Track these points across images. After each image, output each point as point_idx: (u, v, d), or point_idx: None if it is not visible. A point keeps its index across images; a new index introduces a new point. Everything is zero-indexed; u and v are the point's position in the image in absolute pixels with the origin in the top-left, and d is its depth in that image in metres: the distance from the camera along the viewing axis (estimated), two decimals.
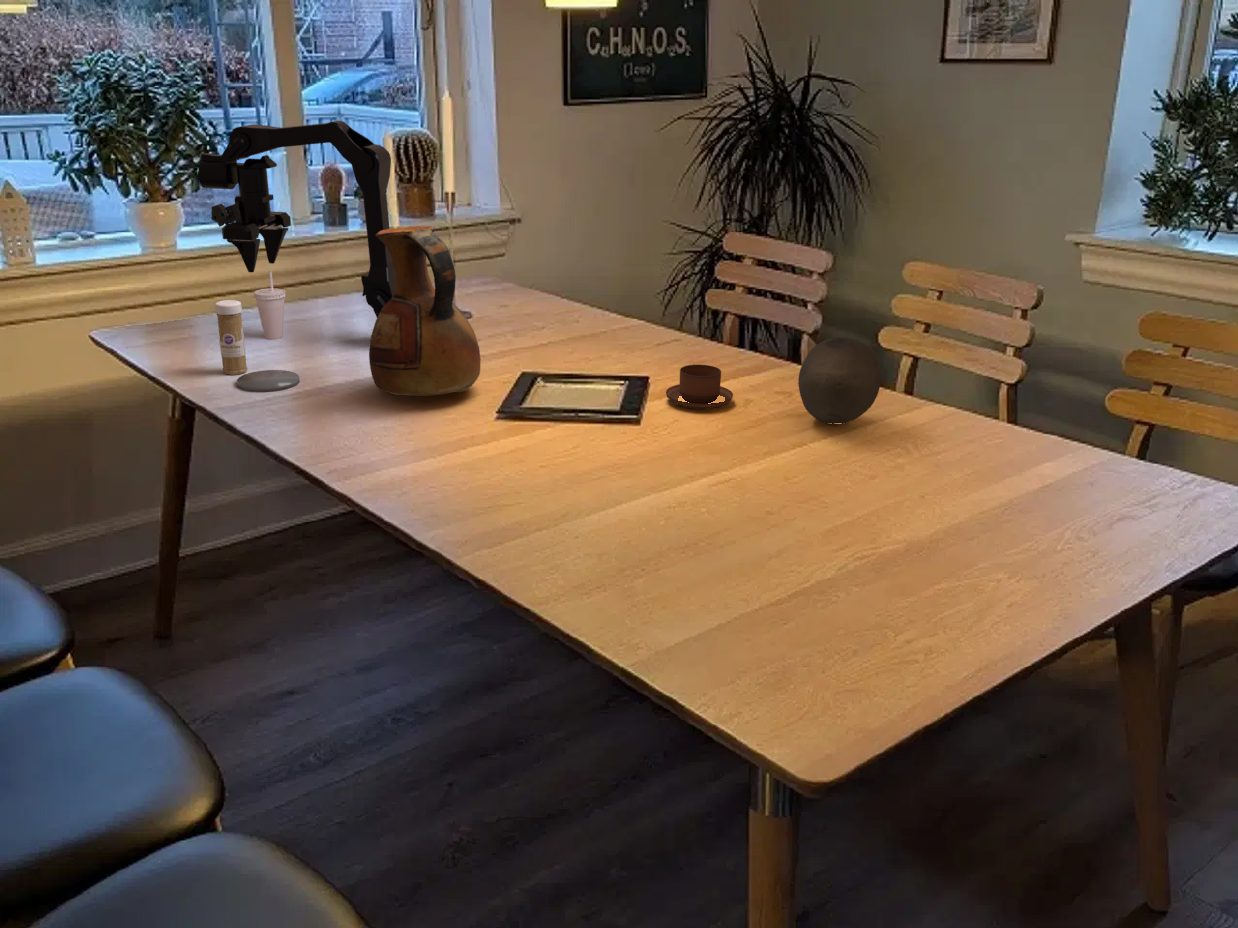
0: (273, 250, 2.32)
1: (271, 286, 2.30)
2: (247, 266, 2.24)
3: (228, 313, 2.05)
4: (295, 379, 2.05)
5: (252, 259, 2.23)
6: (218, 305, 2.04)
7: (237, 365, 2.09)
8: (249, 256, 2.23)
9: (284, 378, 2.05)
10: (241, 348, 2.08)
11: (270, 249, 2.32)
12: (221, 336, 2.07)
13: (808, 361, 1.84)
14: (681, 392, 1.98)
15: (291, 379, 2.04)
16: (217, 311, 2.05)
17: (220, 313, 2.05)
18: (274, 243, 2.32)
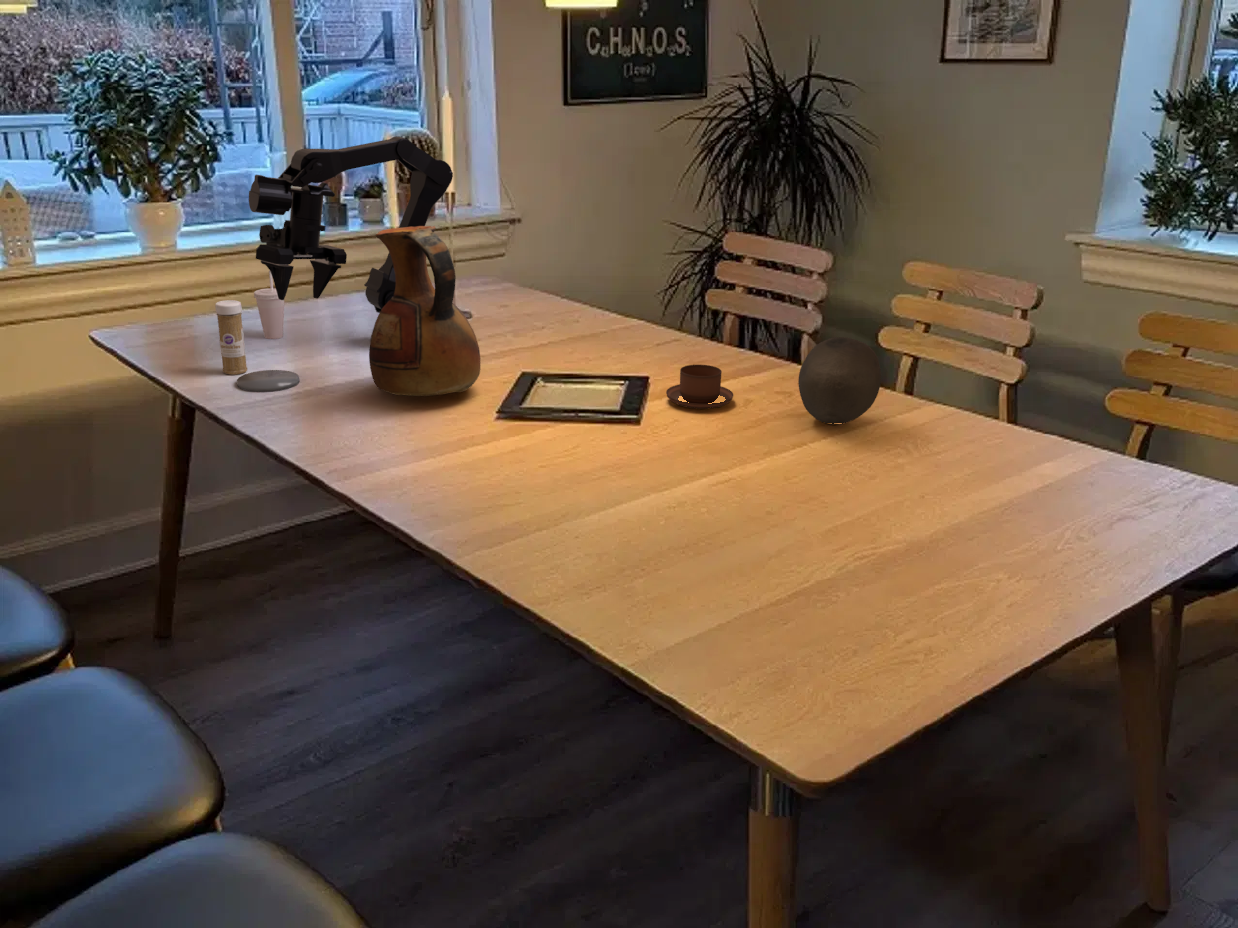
0: (319, 285, 2.19)
1: (271, 286, 2.30)
2: (278, 293, 2.11)
3: (228, 313, 2.05)
4: (295, 379, 2.05)
5: (282, 286, 2.10)
6: (218, 305, 2.04)
7: (237, 365, 2.09)
8: (280, 282, 2.10)
9: (284, 378, 2.05)
10: (241, 348, 2.08)
11: (317, 283, 2.19)
12: (221, 336, 2.07)
13: (808, 361, 1.84)
14: (681, 392, 1.98)
15: (291, 379, 2.04)
16: (217, 311, 2.05)
17: (220, 313, 2.05)
18: (322, 278, 2.18)
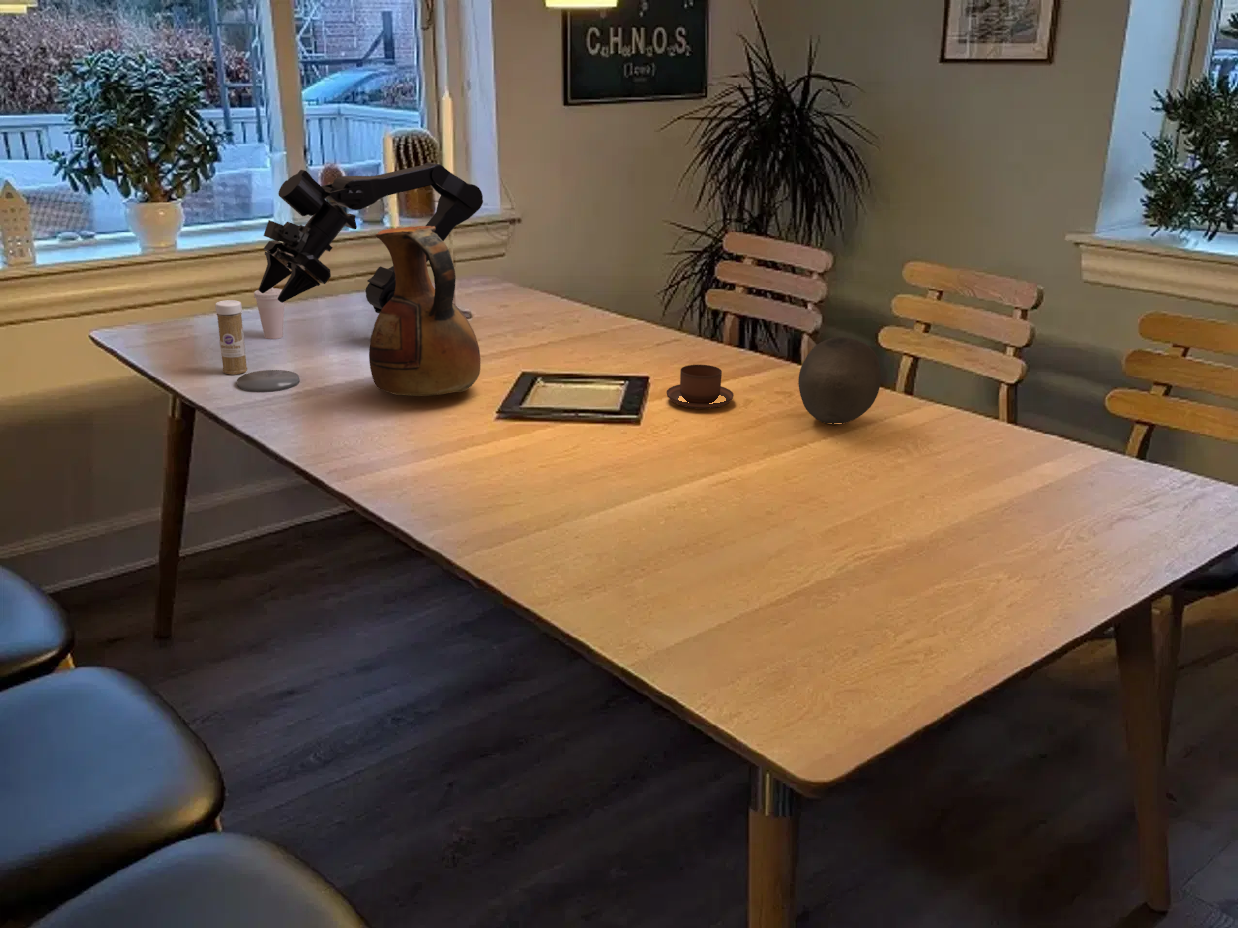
0: (272, 282, 2.15)
1: None
2: (282, 295, 2.07)
3: (228, 313, 2.05)
4: (295, 379, 2.05)
5: (295, 293, 2.08)
6: (218, 305, 2.04)
7: (237, 365, 2.09)
8: (295, 289, 2.08)
9: (284, 378, 2.05)
10: (241, 348, 2.08)
11: (270, 280, 2.15)
12: (221, 336, 2.07)
13: (808, 361, 1.84)
14: (682, 392, 1.98)
15: (291, 379, 2.04)
16: (217, 311, 2.05)
17: (220, 313, 2.05)
18: (277, 278, 2.16)
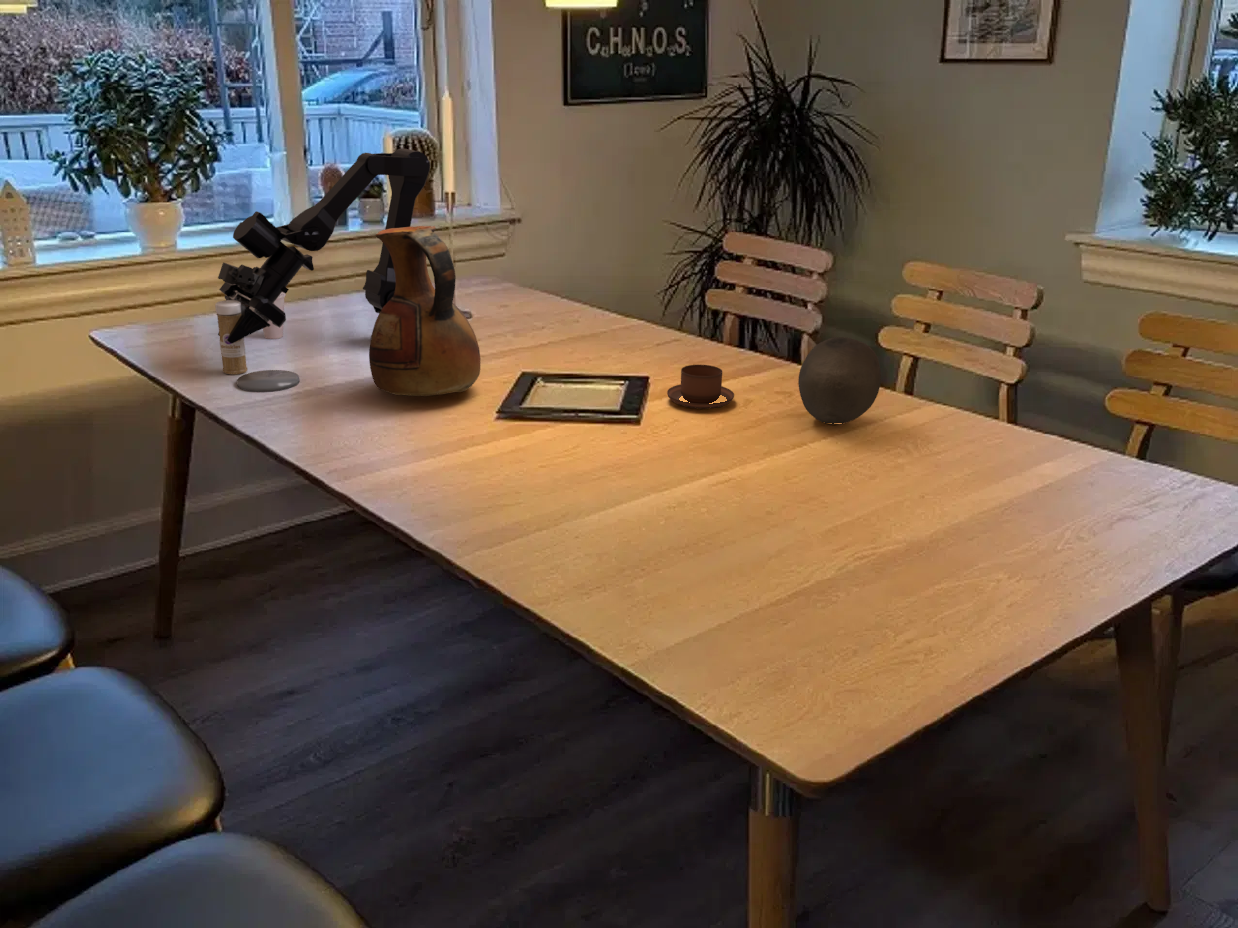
0: None
1: None
2: (232, 336, 2.06)
3: (228, 313, 2.05)
4: (295, 379, 2.05)
5: (245, 334, 2.07)
6: (218, 305, 2.04)
7: (237, 365, 2.09)
8: (245, 330, 2.06)
9: (284, 378, 2.05)
10: (241, 348, 2.08)
11: None
12: (221, 336, 2.07)
13: (808, 361, 1.84)
14: (682, 392, 1.98)
15: (291, 379, 2.04)
16: (217, 311, 2.05)
17: (220, 313, 2.05)
18: None
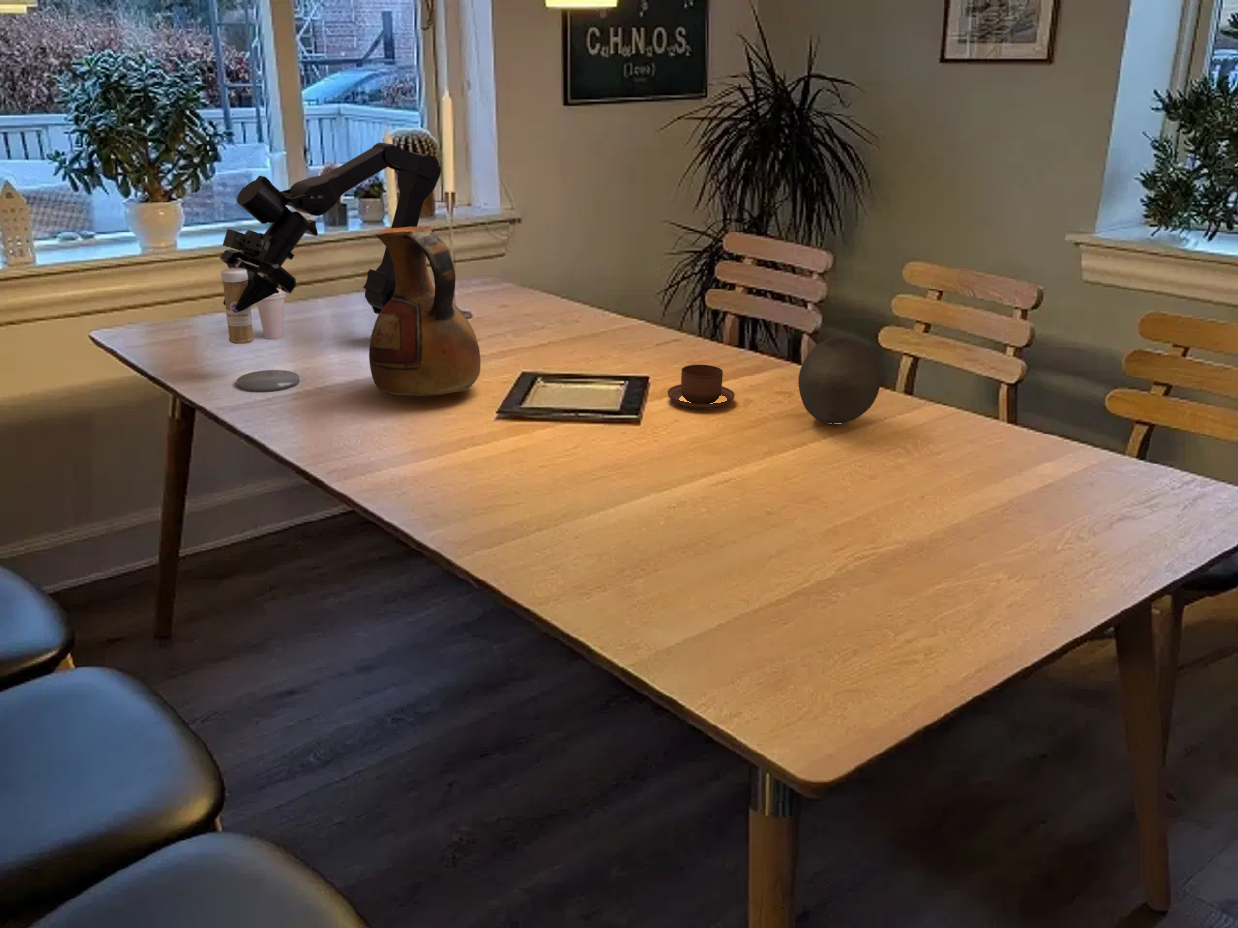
0: None
1: None
2: (240, 304, 2.01)
3: (235, 281, 2.00)
4: (295, 379, 2.05)
5: (253, 302, 2.02)
6: (225, 272, 2.00)
7: (245, 334, 2.04)
8: (253, 297, 2.02)
9: (284, 378, 2.05)
10: (248, 316, 2.04)
11: None
12: (228, 305, 2.02)
13: (808, 361, 1.84)
14: (683, 392, 1.98)
15: (291, 379, 2.04)
16: (224, 279, 2.00)
17: (227, 281, 2.00)
18: None
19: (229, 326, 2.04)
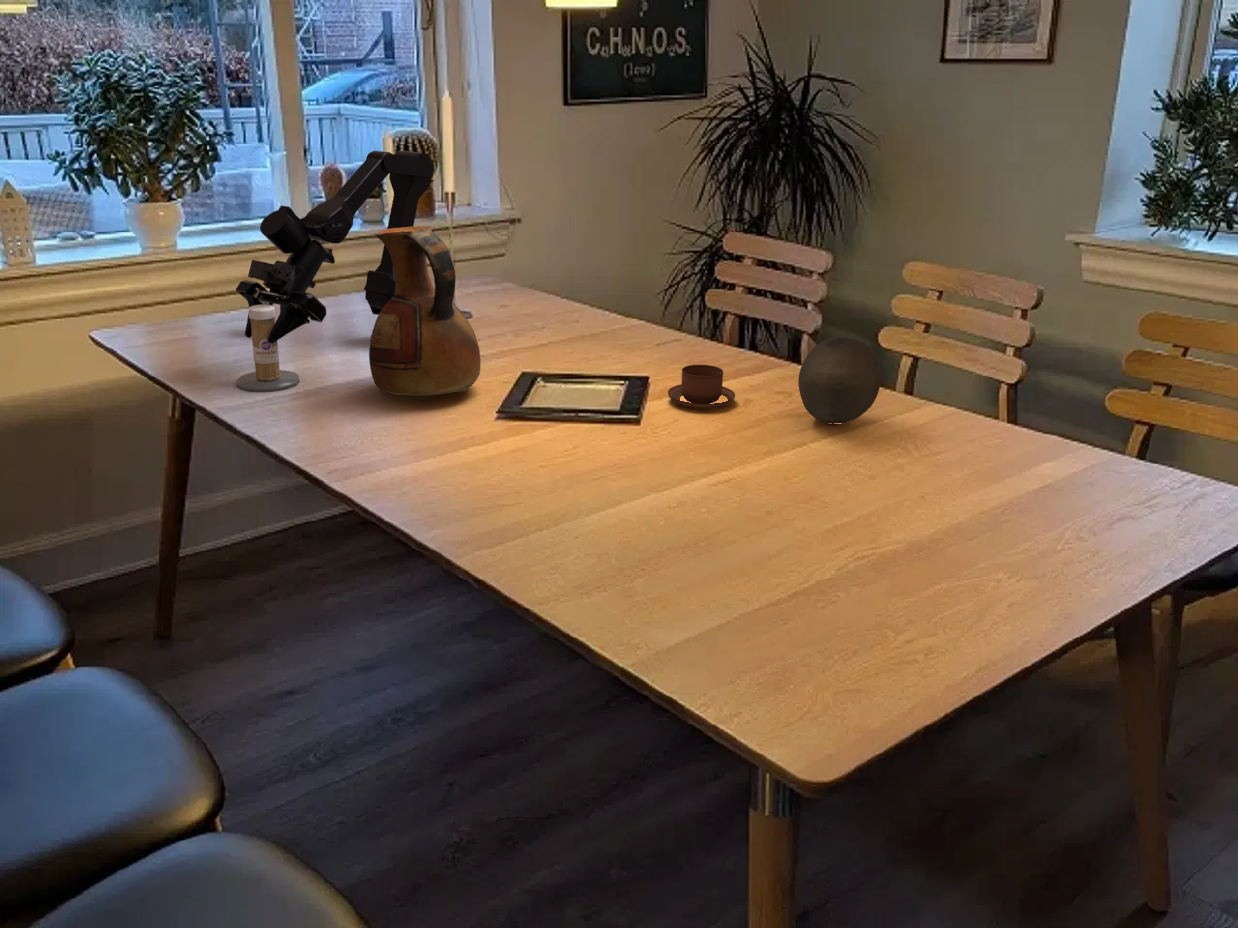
0: None
1: None
2: (272, 335, 1.99)
3: (266, 318, 1.99)
4: (295, 379, 2.05)
5: (284, 333, 2.01)
6: (255, 310, 1.98)
7: (274, 371, 2.03)
8: (285, 329, 2.00)
9: (284, 378, 2.05)
10: (277, 353, 2.03)
11: None
12: (257, 342, 2.00)
13: (808, 361, 1.84)
14: (683, 392, 1.98)
15: (291, 379, 2.04)
16: (253, 317, 1.99)
17: (257, 318, 1.98)
18: None
19: (257, 364, 2.02)
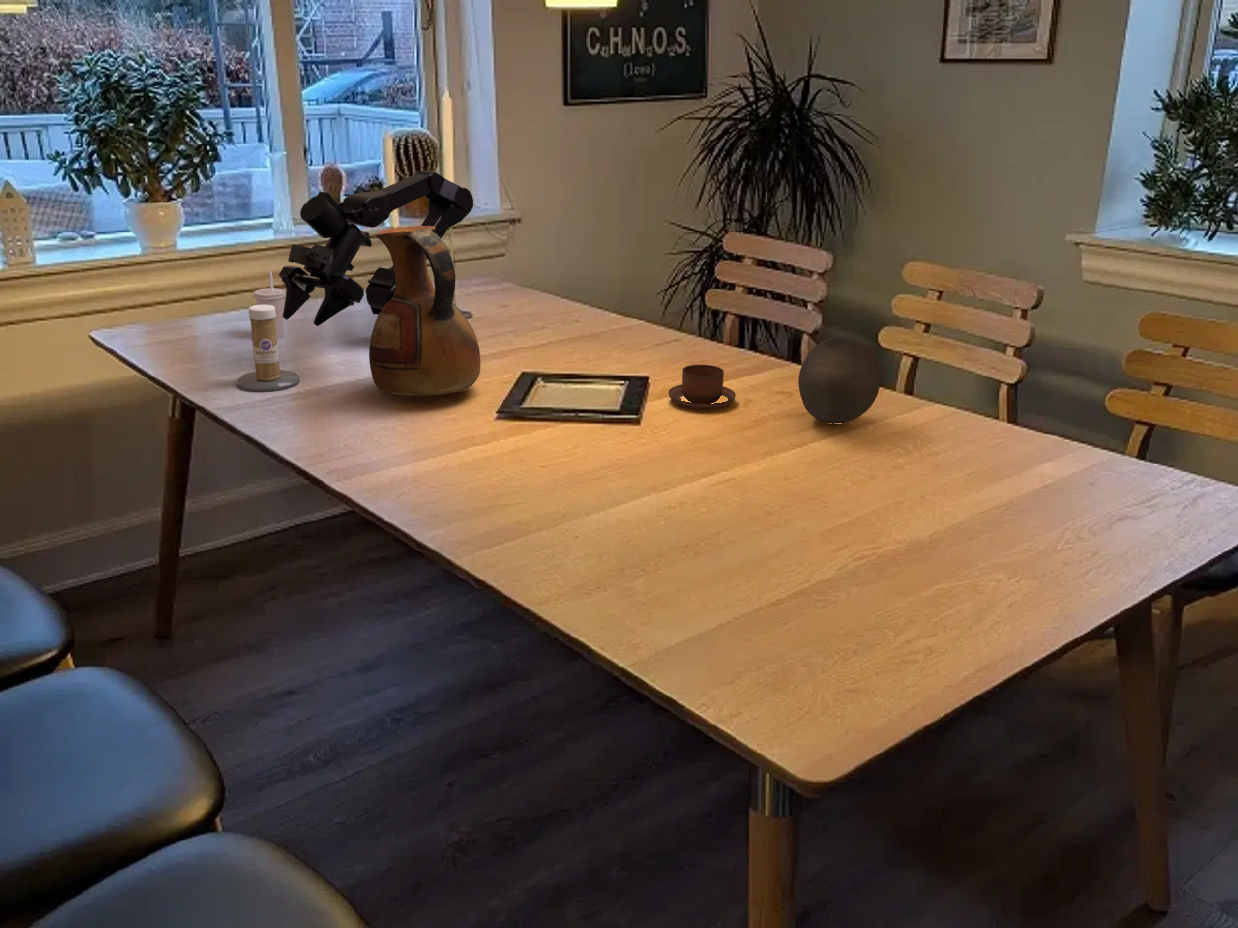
0: (294, 308, 2.13)
1: (271, 286, 2.30)
2: (318, 318, 2.06)
3: (266, 318, 1.99)
4: (295, 379, 2.05)
5: (330, 315, 2.07)
6: (255, 310, 1.98)
7: (274, 371, 2.03)
8: (330, 311, 2.07)
9: (284, 378, 2.05)
10: (277, 353, 2.03)
11: (292, 306, 2.12)
12: (257, 342, 2.00)
13: (808, 361, 1.84)
14: (684, 392, 1.98)
15: (291, 379, 2.04)
16: (253, 316, 1.99)
17: (257, 318, 1.99)
18: (298, 303, 2.13)
19: (257, 364, 2.02)
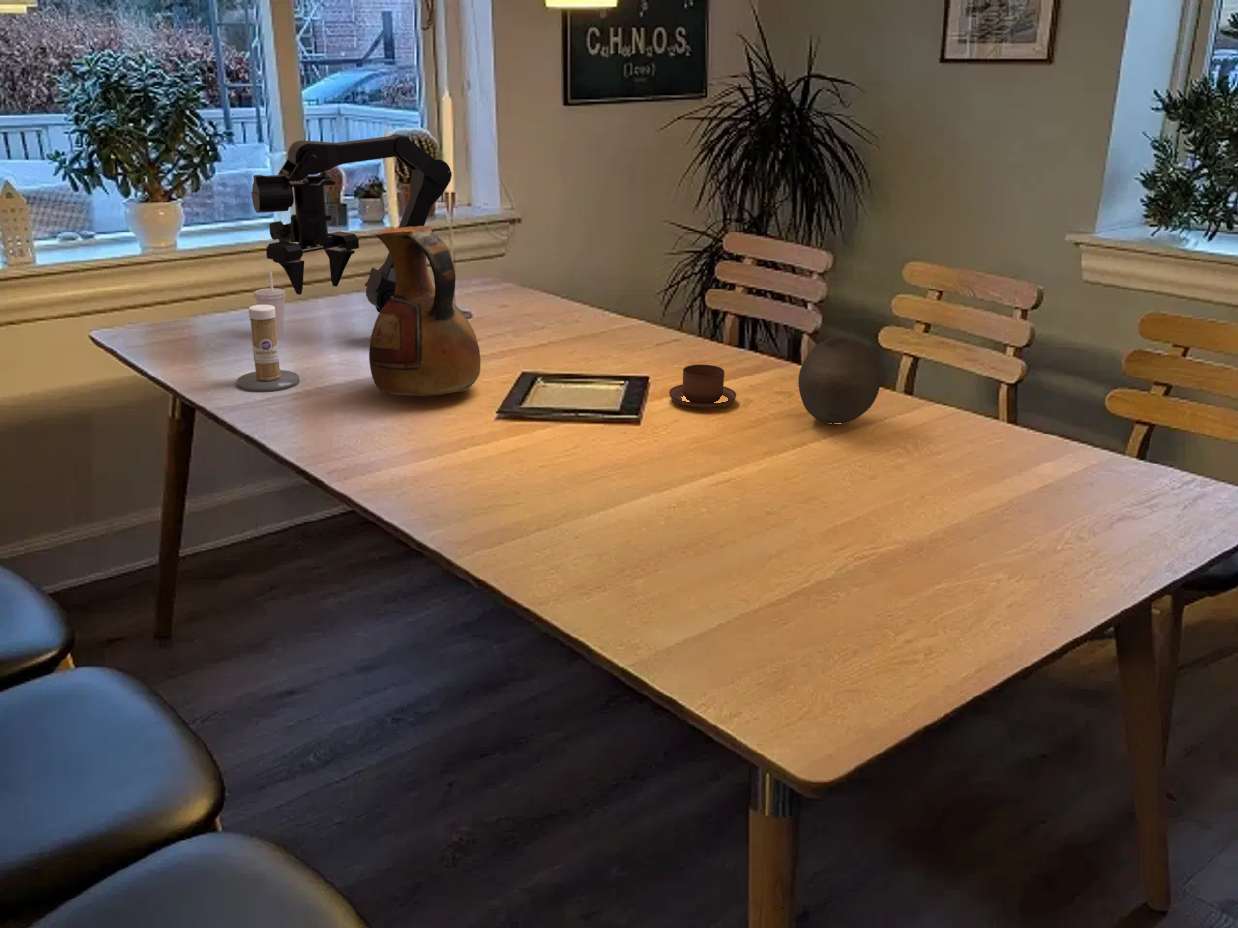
0: (336, 273, 2.21)
1: (271, 286, 2.30)
2: (295, 288, 2.14)
3: (266, 318, 1.99)
4: (295, 379, 2.05)
5: (297, 281, 2.13)
6: (255, 310, 1.98)
7: (274, 371, 2.03)
8: (294, 278, 2.12)
9: (284, 378, 2.05)
10: (277, 353, 2.03)
11: (334, 272, 2.21)
12: (257, 342, 2.00)
13: (808, 361, 1.84)
14: (684, 392, 1.98)
15: (291, 379, 2.04)
16: (253, 316, 1.99)
17: (257, 318, 1.99)
18: (337, 266, 2.20)
19: (257, 364, 2.02)
